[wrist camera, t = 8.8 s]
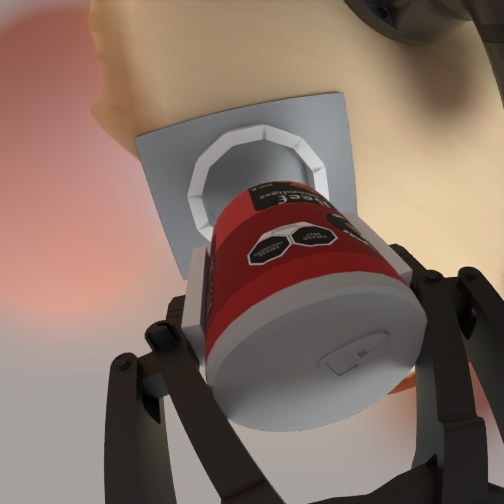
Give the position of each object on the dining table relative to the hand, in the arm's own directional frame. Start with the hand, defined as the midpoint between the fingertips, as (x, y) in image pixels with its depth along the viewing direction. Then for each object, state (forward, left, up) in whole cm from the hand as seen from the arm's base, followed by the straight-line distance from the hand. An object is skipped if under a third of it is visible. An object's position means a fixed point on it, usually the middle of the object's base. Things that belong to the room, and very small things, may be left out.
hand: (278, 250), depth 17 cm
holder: (0, 0, -13) cm, 13 cm away
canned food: (0, 0, -2) cm, 2 cm away
